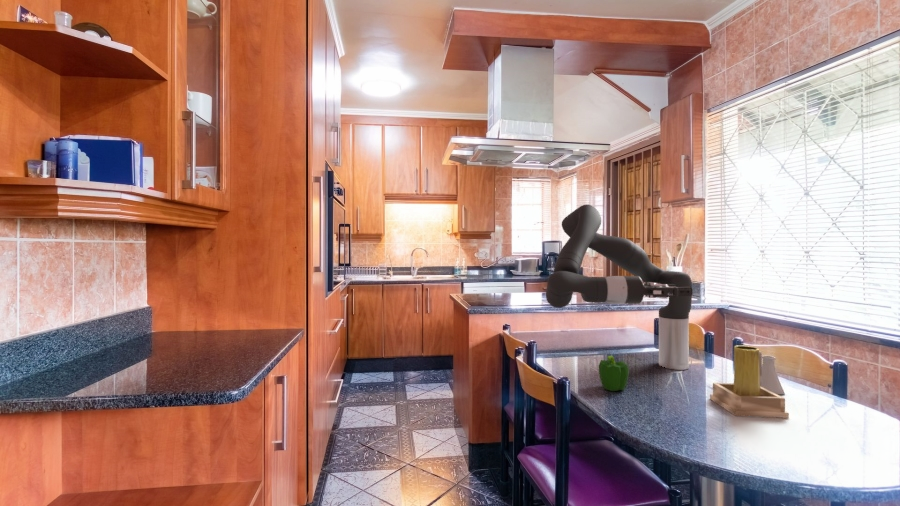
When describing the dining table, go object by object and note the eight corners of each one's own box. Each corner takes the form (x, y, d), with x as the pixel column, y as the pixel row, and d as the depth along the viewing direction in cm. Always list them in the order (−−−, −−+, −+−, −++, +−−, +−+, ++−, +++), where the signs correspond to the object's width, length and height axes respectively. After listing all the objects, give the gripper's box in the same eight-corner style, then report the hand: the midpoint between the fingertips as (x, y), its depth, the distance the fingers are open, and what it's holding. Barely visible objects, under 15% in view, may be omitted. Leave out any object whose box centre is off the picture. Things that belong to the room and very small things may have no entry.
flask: (790, 396, 115) (790, 360, 115) (761, 394, 116) (761, 359, 116) (775, 388, 122) (775, 354, 122) (747, 386, 123) (747, 353, 123)
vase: (735, 397, 111) (735, 343, 111) (763, 403, 106) (763, 347, 106) (729, 403, 106) (729, 347, 106) (758, 409, 102) (759, 351, 102)
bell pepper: (615, 383, 126) (615, 350, 126) (634, 391, 118) (634, 357, 118) (591, 385, 124) (591, 352, 124) (610, 395, 116) (610, 359, 116)
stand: (708, 398, 113) (709, 350, 113) (758, 399, 112) (758, 351, 112) (735, 416, 101) (736, 362, 101) (792, 418, 100) (792, 363, 100)
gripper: (630, 277, 105) (697, 277, 103) (613, 274, 119) (672, 274, 118) (630, 307, 105) (697, 307, 103) (613, 300, 119) (672, 300, 118)
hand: (684, 290), depth 111 cm, fingers open, 8 cm apart
